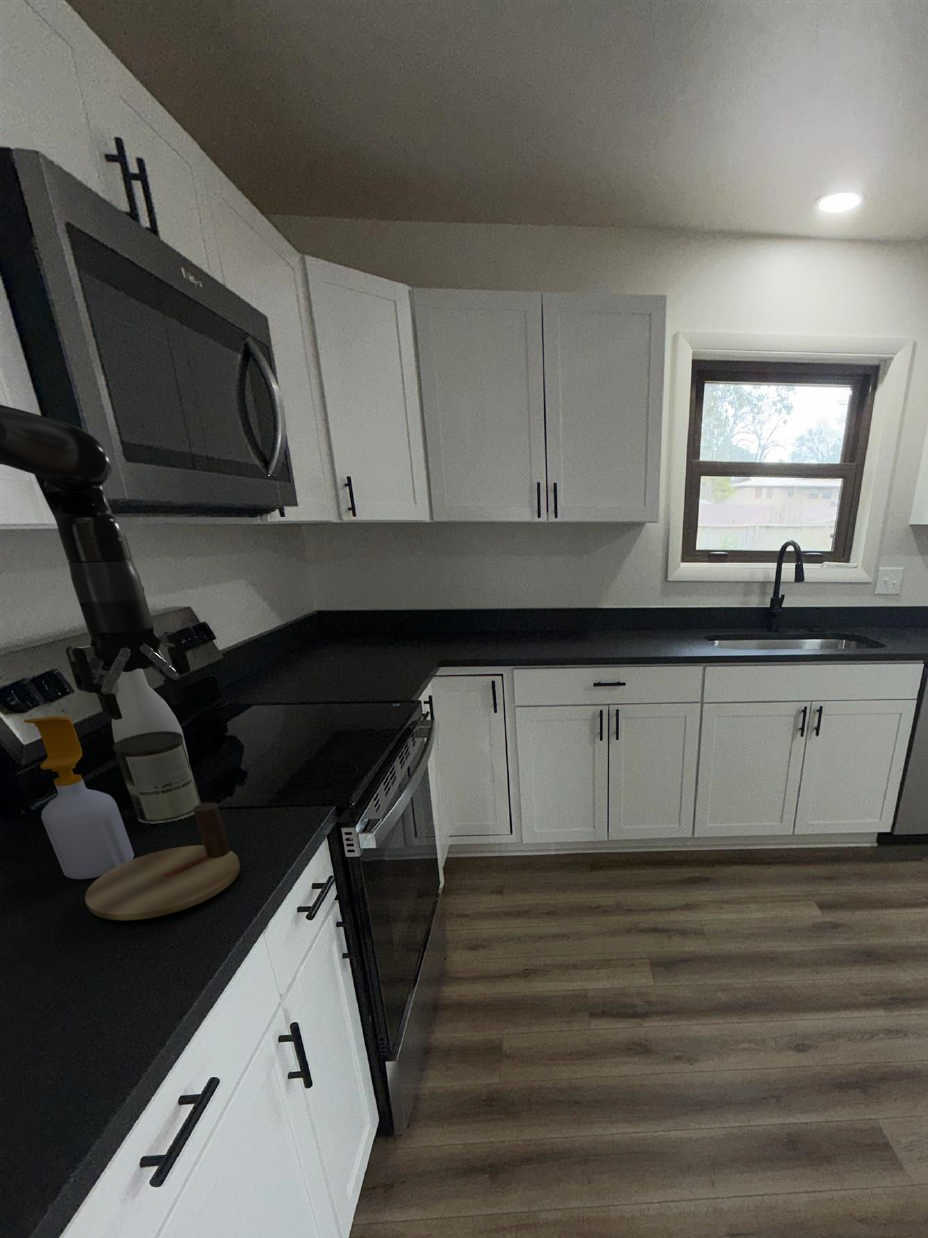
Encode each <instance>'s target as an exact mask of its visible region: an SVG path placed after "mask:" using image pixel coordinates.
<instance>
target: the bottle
mask: <svg viewBox="0 0 928 1238" xmlns="http://www.w3.org/2000/svg"><path fill="white" fill-rule="evenodd" d="M116 682H117V686H118V691H117V694H116V699H117V702H118V705H119V708H120V711H121V714H122V719H118V720H114V719H111V730H112V738H113V741H114V744H115V743H116V742H118V741H120V740H122V739H124V738H127V737H131V736H134V735H138V734H144V733H150V732H160V731H171V732H177V733H180V734H181V735H182V736H183V743H184V747H185V750H186V754H187V757H188V758H189V755H188V749H187V746H186V740H185V737H184V732H183V729H182V727H181V724H180V723H179V721H178V718H177V717H176V715H175V713H174V712H173V710H172V709H171V707H170V706H169V705H168V703H167V701H166V700H165V699H164V698H163V697H162V696H161V695H160V694H158V693H157V692H156V691H155V690H154V689H153V688H152V687H151V686H150V685H149V683H148V679H147V678H146V675H145V672H144V669H136V670H134V671H131V672H122V673H121V675H120V677H119V679H118V680H116ZM188 761H189V759H188ZM189 762H190V761H189Z"/></svg>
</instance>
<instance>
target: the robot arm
mask: <svg viewBox="0 0 928 1238" xmlns="http://www.w3.org/2000/svg"><path fill="white" fill-rule="evenodd" d="M0 465H1V466H6V467H10V468H13V469H16V470H20V471H22V472H25V473H29V474H32V475H34V477H35V479H36V482H37V484H38V486H39V489H40V491H41V492H42V495H43V497H44V500H45V502H46V504H47V506H48V508H49V510H50V512H51V514H52V516H53V518H54V521H55V523H56V526H57V532H58V534H59V538H60V541H61V542H60V543H61V545H62V548H63V551H64V554H65V557H66V560H67V564H68V567H69V572H70V573H69V574H70V578H71V579H70V580H71V582H72V585H73V589H74V592H75V596H76V598H77V601H78V604H79V608H80V610H81V613H82V616H83V619H84V623H85V626H86V628H87V632H88V634H89V636H90V645H86V646H72V645H70V646H67V647H66V648H65V653H66V657H67V660H68V663H69V667H70V669H71V673H72V676H73V679H74V682H75V683H74V684H75V686H76V688H77V690H78V691H82V692H86V693H89V694H96V696H97V698H98V702H99V704H100V707H101V710H102V713H103V714H104V715H105V716H106V717H109V718H110V719H111V720H112V719H114V720H118V719H122V714H121V711H120V708H119V705H118V702H117V699H116V697H117V695H116V694H115V693H114V692H112V691H113V690H114V687H115V685H116V682H117V680H118V679H119V677H120V675H121V673H122V672H131V671H134V670H136V669H143V670H146V669H150V668H151V669H153V670H154V671H156V673H158V674H159V675H161V676H162V677H163V679H162V681H163V686H164V689H165V692H166V693H165V694H166V697H167V699H168V702H169V704H170V705H173V706H179V705H182V701H183V700H184V696H185V695H184V692H183V690H182V689H183V688H182V685H181V681H180V678H181V677H182V676H183V675H185V674H189V673H190V672H191V666H190V663H189V659H188V656H187V653H186V649H185V646H184V643H183V640H182V637H181V635H180V634H179V633H177V632H172V631H164V632H163V633H162V634H157V633H156V632H155V628H154V623H153V618H152V615H151V612H150V608H149V605H148V601H147V597H146V595H145V587H144V586H143V584H142V580H141V576H140V574H139V572H138V569H137V568H136V565H135V563H134V559H133V556H132V553H131V548H130V545H129V543H128V542H129V541H128V539H127V535H126V532H125V529H124V527H123V524H122V522H121V521H120V519H119V518H118V517H117V515H116V514H114V513H113V511H112V509H111V508H110V505H109V501H108V499H107V496H106V493H105V489H104V484H106V482H107V481H108V480H109V479H110V477H111V475H112V469H113V465H112V460H111V457H110V454H109V453H108V451H107V449H106V448H105V446H104V445H103V444H102V443H101V442H100V441H99V440H98V439H97V437H95V436H93V434H91V433H90V432H88V431H86V430H84V429H82V428H80V427H77V426H75V425H72V424H69V423H67V422H64V421H61V420H57V419H54V418H51V417H48V416H44V415H40V414H38V413H33V412H29V411H26V410H22V409H20V408H16V407H11V406H7V405H3V404H0ZM161 645H162V647H163V648H164V649H166V650H167V653H168V655H169V660H170V662H171V665H172V666H171V665H170V664H169V663H168V661H166V660H165V659H164V658H163V657H161V656H160V655H159V654H158V652H159V649H160V647H161ZM93 655H94V656H96V657H97V658H98V659H100V660H101V661H100V664H99V666H98V669H97V671H96V674H97V676H96V678H95V680H94V677H93V673H92V670H91V667H90V663H91V662H92V660H93V658H92V656H93Z"/></svg>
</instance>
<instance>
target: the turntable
mask: <svg viewBox="0 0 928 1238" xmlns="http://www.w3.org/2000/svg"><path fill="white" fill-rule="evenodd" d="M193 810H194V817H195V821H196V824H197V827H198V830H199V831H198V832H199V835H200V837H201V841H202V844H203V845H200V844H199V845H198V844H197V845H186V846H178V847H171V848H167V849H162V850H158V851H154V852H151V853H147V854H144V855H141V856H138V857H136V858H133V860H130V861H128V862H126V863H123V864H121V865H119V866H117V867H115V868H114V869H112V870H110V871H108V872H107V873H105V874H104V875H102V876H100V877H97V878H96V880H94V881H93V882H92V883H91V885H90V886H89V887H88V889H87V890H86V892H85V895H84V901H85V904H86V906H87V909H88V910H89V912H90V913H92V914H93V915H94V916H97V917H98V918H101V919H104V920H105V919H106V920H111V921H137V920H138V921H140V920H145V919H153V918H159V917H161V916H166V915H170V914H173V913H177V912H180V911H183V910H186V909H189V908H191V907H194V906H196V905H198V904H199V905H200V904H201V903H203V902H205V901H207V900H209V899H211V898H213V897H215V896H217V895H218V894H220V893H221V892H222V891H224V890H225V889H227V888H228V887H229V886H230V885H231V884H232V883H233V882H234V881H235V880H236V878H237V877H238V875H239V873H240V871H241V863H240V860H239V857H238V856H237V854H236V853H235V852H234V851H232V850H231V848H230V845H229V841H228V837H227V834H226V831H225V826H224V823H223V820H222V819H223V818H222V816H221V812H220V808H219V804H218V803H216V802H213V801H212V802H203V803H201V804H200V805H197V806H195V807H194V808H193Z"/></svg>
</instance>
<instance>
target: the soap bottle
mask: <svg viewBox="0 0 928 1238" xmlns="http://www.w3.org/2000/svg"><path fill="white" fill-rule="evenodd" d="M23 722H24V724H25V723H26V724H34V725H35V726H36V727H37V730H38V732H39V735H40V738H41V740H42V742H43V745H44V748H45V750H46V755H47V757H46V759H45V760H44V761H43V762H42V763H41V764H40V765H39V767H40V769H41V770H49V769H50V770H51V771H52V772H55V773H57V774H58V777H57V778H55V779H53V783H54V786H55V788H56V789H55V790H56V792H57V795H56V797H54V798H53V799H51V800H49V802H48V803H47V804H46V805H45V806H44V808H43V809H42V810H41V816H40V818H41V820H42V823H43V826H44V828H45V831H46V833H47V836H48V838H49V841H50V843H51V845H52V849H53V850H54V853H55V856H56V858H57V860H58V863H59V866H60V867H61V871H62V872H63V875H64V876H65V877H67V878H69V879H72V880H88V879H97V878H99V877H101V876H102V875H104V874H105V873H107V872H108V871H110V870H112V869H114V868H115V867H117V866H119V865H121V864H123V863H126V862H128V861H130V860H133V859H134V857H135V853H134V851H133V847H132V845H131V842H130V841H131V840H130V838H129V836H128V833H127V830H126V826H125V825H124V821H123V818H122V815H121V812H120V810H119V807H118V804H117V802H116V800H115V799H114V798H113V797H112V796H111V795H110V794H108V793H105V792H103V791H99V790H97V789H89V788H87V787H86V784H85V781H84V778H83V777H82V774H78V773H74V771H73V769H75V768H76V764H77V763H78V762H79V761H80V760H81V758H82V757H83V749H82V747H81V743H80V740H79V738H78V737H79V736H78V735H77V732H76V729H75V726H74V724H73V721H72V719H71V718H70V717H69V716H47V717H38V718H28V719H27V718H26V719H23Z"/></svg>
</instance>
